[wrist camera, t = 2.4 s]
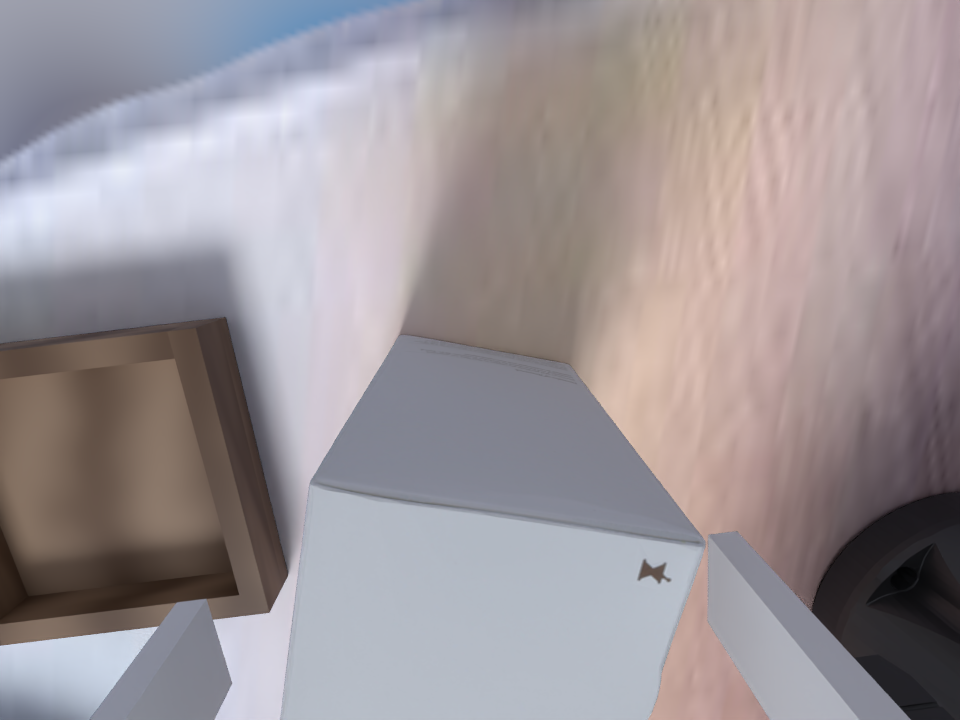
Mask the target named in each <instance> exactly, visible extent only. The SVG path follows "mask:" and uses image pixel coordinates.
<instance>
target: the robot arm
mask: <svg viewBox="0 0 960 720" xmlns="http://www.w3.org/2000/svg"><path fill="white" fill-rule="evenodd" d="M708 623H709V625H710V626H711V628H712V629H713V631H714V633H715V634H716V636H717V637H718V639H719V640H720V642H721V643H722V645H723V647H724V648H725V650H726V651H727V653H728V654H729V656H730V658H731V659H732V661H733V662H734V664H735V665H736V667H737V669H738V670H739V672H740V673H741V675H742V676H743V678H744V680H745V681H746V683H747V684H748V686H749V687H750V689H751V691H752V692H753V694H754V695H755V697H756V698H757V700H758V702H759V703H760V705H761V706H762V708H763V709H764V711H765V713H766V714H767V716H768V717H769V719H770V720H960V492H954V493H947V494H942V495H937V496H933V497H929V498H926V499H922V500H920V501H917V502H914V503H911V504H909V505H907V506H904V507H902V508H900V509H898V510H896V511H894V512H892V513H890V514H889V515H887V516H885V517H883V518H882V519H880V520H879V521H877V522H876V523H874V524H873V525H871V526H870V527H869V528H867V529H866V530H865V531H864V532H862V533H861V534H860V535H859V536H858V537H857V538H856V539H855V540H853V541H852V542H851V543H850V544H849V545H848V546H847V548H846V549H845V550H844V551H843V552H842V553H841V554H840V556H839V557H838V558H837V559H836V561H835V562H834V563H833V565H832V566H831V568H830V569H829V571H828V572H827V574H826V576H825V578H824V580H823V581H822V583H821V586H820V588H819V590H818V593H817V595H816V598H815V602H814V605H813V609H812V612H811V611H810V610H809V609H808V608H807V607H806V605H805V604H804V603H803V602H802V601H801V600H800V599H799V598H798V597H797V596H796V595H795V594H794V592H793V591H792V590H791V589H790V588H789V587H788V586H787V585H786V584H785V583H784V582H783V581H782V579H781V578H780V577H779V576H778V575H777V574H776V573H775V572H774V571H773V570H772V569H771V568H770V566H769V565H768V564H767V563H766V562H765V561H764V560H763V559H762V558H761V557H760V556H759V555H758V553H757V552H756V551H755V550H754V549H753V548H752V547H751V546H750V545H749V544H748V543H747V542H746V540H745V539H744V538H743V537H742V536H741V535H740V534H739V533H738V532H737V531H735V532H727V533H719V534H711V535H708ZM231 685H232V681H231V678H230V675H229V671H228V668H227V665H226V662H225V658H224V655H223V652H222V648H221V645H220V642H219V639H218V635H217V632H216V629H215V625H214V622H213V619H212V616H211V612H210V609H209V606H208V602H207V599H200V600H192V601H184V602H177V603H176V604H175V605H174V607H173V608H172V609H171V611H170V612H169V613H168V615H167V616H166V617H165V619H164V620H163V621H162V623H161V624H160V626H159V627H158V628H157V630H156V631H155V632H154V634H153V635H152V636H151V638H150V639H149V640H148V642H147V643H146V644H145V646H144V647H143V648H142V650H141V651H140V652H139V654H138V655H137V656H136V658H135V659H134V660H133V662H132V663H131V664H130V666H129V667H128V669H127V670H126V671H125V673H124V674H123V675H122V677H121V678H120V679H119V681H118V682H117V683H116V685H115V686H114V687H113V689H112V690H111V691H110V693H109V694H108V695H107V697H106V698H105V699H104V701H103V702H102V703H101V705H100V706H99V708H98V709H97V710H96V712H95V713H94V714H93V716H92V717H91V718H90V720H214V719H215V717H216V715H217V713H218V711H219V709H220V707H221V705H222V703H223V701H224V699H225V697H226V695H227V693H228V691H229V689H230V687H231Z"/></svg>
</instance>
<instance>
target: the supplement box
mask: <svg viewBox="0 0 960 720" xmlns="http://www.w3.org/2000/svg"><path fill="white" fill-rule="evenodd" d="M704 549H705V540H704V539H703V537H702V536H701V535H700V533H699V532H698V531H697V530H696V528H695V527H694V526H693V524H692V523H691V522H690V521H689V519H688V518H687V517H686V516H685V514H684V513H683V512H682V510H681V509H680V508H679V506H678V505H677V504H676V502H675V501H674V500H673V499H672V497H671V496H670V495H669V493H668V492H667V491H666V490H665V488H664V487H663V486H662V484H661V483H660V482H659V480H658V479H657V478H656V477H655V475H654V474H653V473H652V471H651V470H650V469H649V468H648V466H647V465H646V464H645V462H644V461H643V460H642V458H641V457H640V456H639V455H638V453H637V452H636V451H635V449H634V448H633V447H632V445H631V444H630V443H629V441H628V440H627V439H626V438H625V436H624V435H623V434H622V432H621V431H620V430H619V428H618V427H617V426H616V424H615V423H614V422H613V420H612V419H611V418H610V417H609V415H608V414H607V413H606V411H605V410H604V409H603V407H602V406H601V405H600V403H599V402H598V401H597V400H596V398H595V397H594V395H593V394H592V393H591V392H590V391H589V389H588V388H587V386H586V385H585V384H584V383H583V381H582V380H581V379H580V378H579V376H578V375H577V374H576V372H575V371H574V370H573V368H572V367H571V366H570V365H569V364H565V363H560V362H555V361H550V360H544V359H538V358H533V357H527V356H522V355H516V354H511V353H505V352H500V351H494V350H489V349H483V348H478V347H472V346H467V345H461V344H456V343H451V342H445V341H440V340H434V339H429V338H423V337H416V336H409V335H400V336H398V338H397V340H396V341H395V343H394V345H393V347H392V348H391V350H390V352H389V353H388V355H387V357H386V358H385V360H384V362H383V363H382V365H381V367H380V368H379V370H378V371H377V373H376V375H375V376H374V378H373V379H372V381H371V383H370V384H369V386H368V388H367V389H366V391H365V392H364V394H363V396H362V398H361V399H360V401H359V402H358V404H357V405H356V407H355V409H354V410H353V412H352V414H351V415H350V417H349V418H348V420H347V422H346V423H345V425H344V426H343V428H342V430H341V431H340V433H339V435H338V436H337V438H336V440H335V442H334V443H333V445H332V447H331V448H330V450H329V452H328V453H327V455H326V456H325V458H324V460H323V461H322V463H321V465H320V466H319V468H318V470H317V472H316V473H315V475H314V476H313V478H312V479H311V481H310V485H309V491H308V499H307V507H306V515H305V523H304V531H303V540H302V548H301V555H300V563H299V571H298V579H297V587H296V595H295V603H294V611H293V619H292V627H291V635H290V643H289V651H288V659H287V667H286V675H285V684H284V692H283V701H282V709H281V717H280V720H648V718H649V717H650V715H651V713H652V711H653V708H654V705H655V703H656V700H657V697H658V693H659V688H660V683H661V673H662V670H663V667H664V664H665V661H666V658H667V655H668V652H669V649H670V646H671V643H672V640H673V637H674V634H675V631H676V629H677V626H678V623H679V620H680V618H681V615H682V612H683V609H684V607H685V604H686V601H687V598H688V596H689V593H690V590H691V587H692V584H693V582H694V579H695V576H696V573H697V570H698V567H699V564H700V561H701V558H702V555H703V552H704Z"/></svg>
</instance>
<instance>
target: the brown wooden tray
mask: <svg viewBox="0 0 960 720" xmlns="http://www.w3.org/2000/svg"><path fill="white" fill-rule="evenodd" d="M287 577H288V573H287V568H286V564H285V560H284V556H283V552H282V548H281V544H280V540H279V535H278V531H277V527H276V523H275V519H274V515H273V511H272V507H271V502H270V498H269V494H268V490H267V486H266V482H265V478H264V474H263V469H262V465H261V461H260V457H259V453H258V449H257V445H256V441H255V436H254V432H253V428H252V424H251V420H250V416H249V412H248V408H247V403H246V399H245V395H244V391H243V387H242V383H241V379H240V375H239V370H238V366H237V362H236V358H235V354H234V350H233V346H232V342H231V337H230V333H229V329H228V325H227V321H226V317H224V318H215V319H207V320H198V321H190V322H181V323H173V324H164V325H156V326H147V327H139V328H130V329H122V330H113V331H105V332H96V333H88V334H79V335H71V336H62V337H54V338H45V339H37V340H28V341H20V342H11V343H3V344H0V646H1V645H9V644H17V643H26V642H34V641H42V640H50V639H58V638H67V637H75V636H83V635H91V634H99V633H107V632H116V631H124V630H132V629H140V628H148V627H157V626H160V624H161V623H162V621H163V620H164V619H165V617H166V616H167V615H168V613H169V612H170V611H171V609H172V608H173V607H174V605H175V604H176V603H177V602H184V601H192V600H200V599H207V602H208V606H209V609H210V612H211V616H212V619H213V620H214V619H222V618H230V617H238V616H247V615H255V614H263V613H269V612H270V610H271V608H272V606H273V604H274V602H275V600H276V598H277V596H278V594H279V592H280V590H281V588H282V587H283V585H284V583H285V581H286V579H287Z"/></svg>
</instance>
